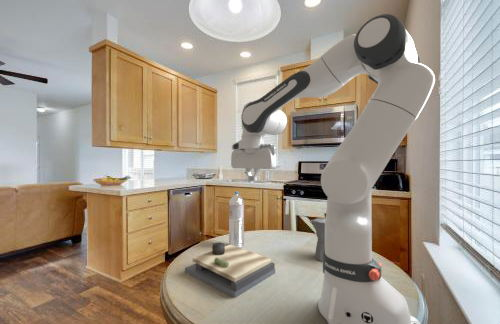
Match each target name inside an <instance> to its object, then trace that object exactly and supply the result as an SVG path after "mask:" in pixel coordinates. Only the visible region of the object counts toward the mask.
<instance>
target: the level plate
mask: <svg viewBox="0 0 500 324" xmlns="http://www.w3.org/2000/svg"><path fill="white" fill-rule="evenodd" d="M211 250H212V251H207V252H206V253H203V254H200V255H199V254H198V255H196V256H195V257H192V262H193V263H194V264H196V263H197V264H199V265H201V266H203V267H205V268H207V269H209V270H211V271H213V272H215V273H217V274H219V275H221V276H223V277H225V278H227V279H229V280H231V281H234V282H236V281H238V280H240V279H242V278H244V277H246V276H247V275H249V274H251V273H253V272H255V271H257V270H259V269H260V268H262V267H264V266H266V265H268V264H270V263H271V262H272V258H269V257H268V256H267V257H266V256H264V255H261V254H259V253H256V252H253V251H249V250H247V249H243V248H239V247H236V246H233V245H229V244H228V245H225V243H224V242H214V243H212V248H211Z"/></svg>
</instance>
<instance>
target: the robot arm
mask: <svg viewBox="0 0 500 324" xmlns="http://www.w3.org/2000/svg"><path fill="white" fill-rule="evenodd" d="M359 75H368V79H369V80H371V81H373V82H374V83H376V84H377V86H376V88H375V89H374V92H373V94H372V95H371V96H370V97H369V100H368V101H367V103H366V104H365V106H364V108H363V110H362V112H361V113H360V114H359V116H358V118H357V119H356V121H355V123H354V125H352V128H351V129H350V131H349V132H348V134H347V135H346V136H345V138H344V139H343V140H342V142H340V145H339V146H338V147H337V149H336V151H335V152H334V153H333V155H332V156H331V157H330V159H329V160H328V162H327V164H326V165H325V167H324V168H323V170H322V172H321V175H320V184H321V189H322V190H323V193H324V194H325V196H326V197H327V200H326V202H327V203H326V212H325V213H326V218H325V217H324V218H325V251H324V252H323V262H322V273H323V281H322V288H321V293H320V297H319V301H318V304H317V307H318V308H317V309H318V311H319V313H320V315H322V317H323V318H324V319H325V320H326V322H327V324H421V323H420V321H419V320H418V319H417V318H416V317H414V316H412V315H411V312H410V309H409V305H408V303H407V300H406V298H405V297H404V295H402V293H400V292H399V291H398V290H397V289H395V288H394V287H393V286H392V284H391V283H389V282H387V280H386V279H384V277H382V265H383V264H382V261H380V262H379V263H378V262H377V261H376V260H375V259H374V258H373V248H372V247H373V235H372V234H373V226H372V225H373V224H372V223H373V222H372V219H373V217H372V214H373V213H372V212H373V211H372V207H373V205H372V203H373V202H372V201H373V200H372V192H373V191H372V188H373V187H374V185H375V184H376V182H377V181H378V179H379V178H380V176H381V175H382V173H383V171H384V170H385V168H386V167H387V165H388V163H389V162H390V160H391V159H392V157H393V155H394V153H395V152H396V150H397V149H398V147H399V146H400V145H401V143H402V141H403V140H404V138H405V137H406V136H407V134H408V132H409V131H410V129H411V128H412V126H413V125H414V123H416V122H415V121H416V120H417V119H418V117H419V116H420V113H421V112H422V111H423V108H424V107H425V105H426V103H427V101H428V100H429V97H430V95H431V93H432V90H433V88H434V85H435V82H436V78H435V74H434V72H433V70H432V69H431V68H429V66H427V65H425V64H422V63H420V57H419V55H418V53H417V50H416V47H415V42H414V40H413V38H412V36H411V35H410V34H409V32H408V31H407V29H406V27H405V24H404V23H403V22H402V20H401V19H399V18H398V17H396V16H395V15H393V14H388V13H383V14H379V15H376V16H374V17H372V18H370V19H369V20H368V21H366V22H364V24H363V25H361V27H360V29H359V30H357V33H354V34H353V33H352V34H350V35H348V36H346V37H344V38H343V39H342V40H340V41H339V42H337V43H335V44H334V45H333V46H331V47H330V48H329V49H328V50H327V51H325V52H324V53H323V54H322V55H320V56H319V58H317V59H315V61H313V62H312V63H311V64H309V65H308V66H307V67H305V68H304V69H301V70H298V71H297V72H295V73H293V74H291V75H290V76H288V77H287V78H285V79H284V80H283V81H282V82H280V83H279V84H277V85H276V86H274V88H272V89H271V90H270V91H268V92H267V93H266V94H264V95H263V96H262V97H260V98H258V99H256V100H254V101H253V100H252V101H249V102H247V103H245V104H244V105H243V108H242V113H241V115H240V118H241V130H242V134H241V139H240V140H239V141H237V142H235V143H233V144H232V145H231V150H232V152H231V154H230V155H231V157H230V160H231V161H230V165H231V166H230V167H231V168H232V169H245V174H246V175H247V181H250V182H257V181H258V176H259V174H260V173H261V170H275V169H276V168H277V155H276V146H275V145H273V144H272V143H267V144H266V143H265V135H269V136H276V135H281V134H282V133H283V132H284V131H285V130H286V128H287V124H288V119H287V118H288V117H287V115H286V113H285V112H284V111H282V110H281V109H282V108H283V107H285V106H286V105H287V104H289V103H290V102H293V101H294V100H297V99H302V98H326V97H328V96H330V95H332V94H334V93H336V92H337V91H338V90H340V89H341V88H343V87H344V86H345V85H346V84H347V83H349V82H350V81H351V80H352V79H354V78H355V77H357V76H359ZM252 170H253V172H254V173H253V175H252Z"/></svg>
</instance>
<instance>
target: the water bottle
mask: <svg viewBox="0 0 500 324" xmlns="http://www.w3.org/2000/svg"><path fill="white" fill-rule="evenodd" d="M239 194H240V192H239V191H234V195H233V196H232V197H230V199H229V201H228V203H229V206H228V207H229V209H228V210H229V211H228V215H229V216H228V245H233V246H236V247H239V248H242V249H243V248H244V246H245V243H244V242H245V241H244V240H245V209H244V208H245V200H244V199H243V197H242V196H241V195H239Z"/></svg>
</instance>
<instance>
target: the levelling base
mask: <svg viewBox="0 0 500 324" xmlns="http://www.w3.org/2000/svg"><path fill="white" fill-rule="evenodd" d="M184 273H186V274H188V275H190V276H192V277H194V278H195V279H198V280H199V281H202V282H203V283H205V284H208V285H209V286H211V287H213V288H215V289H217V290H220V291H221V292H223V293H225V294H227V295H229V296H230V297H233V298H237V297H238V296H240V295H242V294H244V293H246V292H247V291H248V290H250V289H251V288H253V287H255V286H257V285H259V283H261V282H264V281H265V280H266V279H268V278H269V277H271V276H272V275H274V274H276V268H275V263H274V262H272V261H271V263H270V264H268V265H266V266H264V267H262V268H260V269H259V270H257V271H255V272H253V273H251V274H249V275H247V276H246V277H244V278H242V279H240V280H238V281H236V282H234V281H231V280H229V279H227V278H225V277H223V276H221V275H219V274H217V273H215V272H213V271H211V270H209V269H207V268H205V267H203V266H201V265H199V264H197V263H194V264H191V265H188V266H186V267H184Z"/></svg>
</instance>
